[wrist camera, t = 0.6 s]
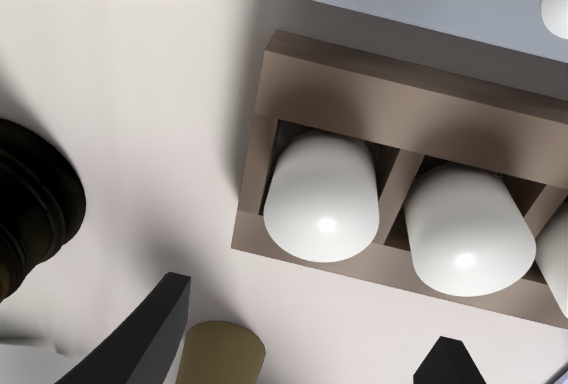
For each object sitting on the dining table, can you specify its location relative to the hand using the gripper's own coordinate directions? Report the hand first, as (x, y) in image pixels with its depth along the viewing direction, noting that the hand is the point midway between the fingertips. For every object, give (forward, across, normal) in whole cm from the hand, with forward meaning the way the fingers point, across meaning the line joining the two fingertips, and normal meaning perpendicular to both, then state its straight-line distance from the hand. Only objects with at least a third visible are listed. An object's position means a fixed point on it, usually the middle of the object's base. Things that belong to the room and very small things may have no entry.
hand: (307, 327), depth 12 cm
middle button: (+8, -6, 0) cm, 10 cm away
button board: (+10, -6, 0) cm, 12 cm away
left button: (+8, 0, 0) cm, 8 cm away
